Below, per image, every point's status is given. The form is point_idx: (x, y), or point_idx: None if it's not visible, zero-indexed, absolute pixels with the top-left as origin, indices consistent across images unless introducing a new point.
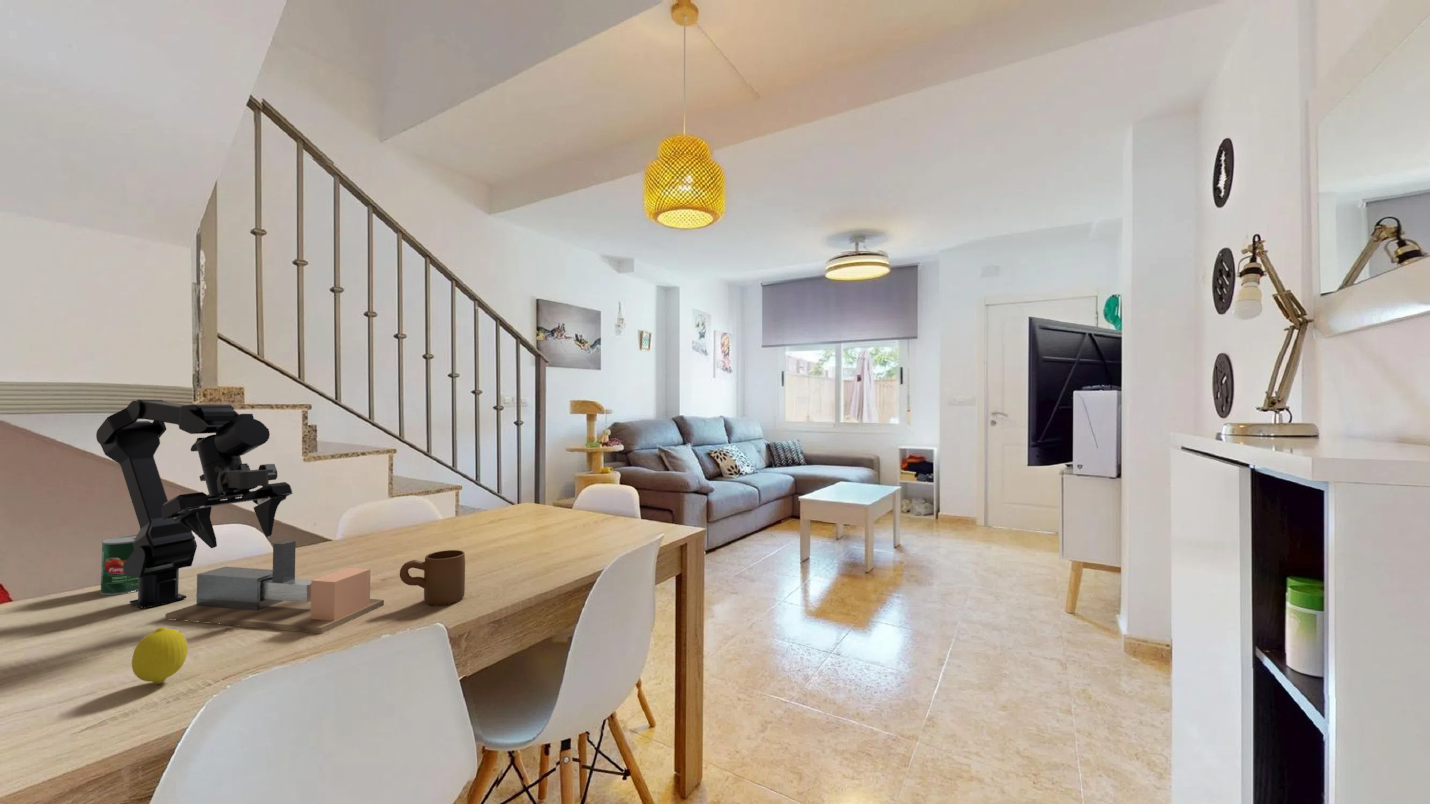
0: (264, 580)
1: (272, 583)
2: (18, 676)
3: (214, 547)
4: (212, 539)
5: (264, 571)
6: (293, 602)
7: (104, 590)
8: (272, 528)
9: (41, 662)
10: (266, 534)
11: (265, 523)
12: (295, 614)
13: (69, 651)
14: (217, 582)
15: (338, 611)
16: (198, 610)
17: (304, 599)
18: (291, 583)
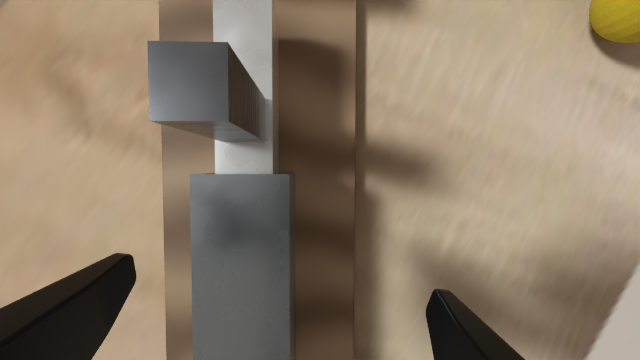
0: None
1: (272, 134)
2: (608, 307)
3: (430, 301)
4: (479, 318)
5: (214, 232)
6: None
7: None
8: (72, 274)
9: (560, 341)
10: (126, 284)
11: (55, 347)
12: (297, 49)
13: None
14: (291, 329)
15: None
16: (321, 315)
17: (277, 23)
18: (264, 63)
